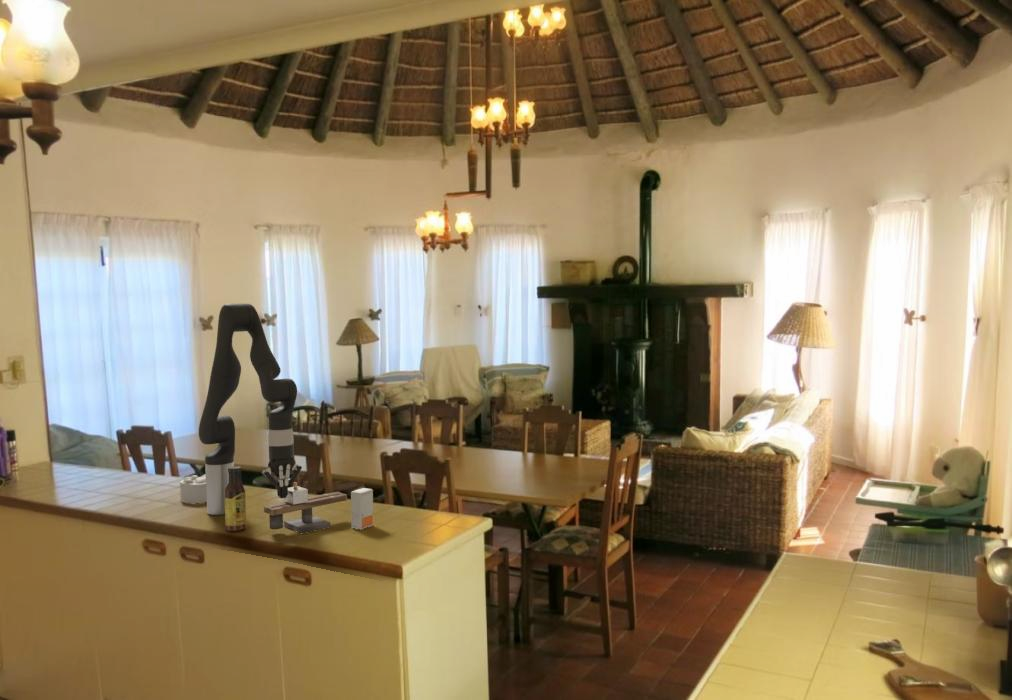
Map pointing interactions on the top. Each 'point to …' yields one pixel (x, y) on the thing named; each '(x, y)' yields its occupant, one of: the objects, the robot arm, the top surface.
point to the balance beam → (307, 519)
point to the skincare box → (362, 508)
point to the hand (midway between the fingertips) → (282, 497)
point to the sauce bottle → (235, 501)
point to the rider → (296, 494)
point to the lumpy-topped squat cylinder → (193, 489)
